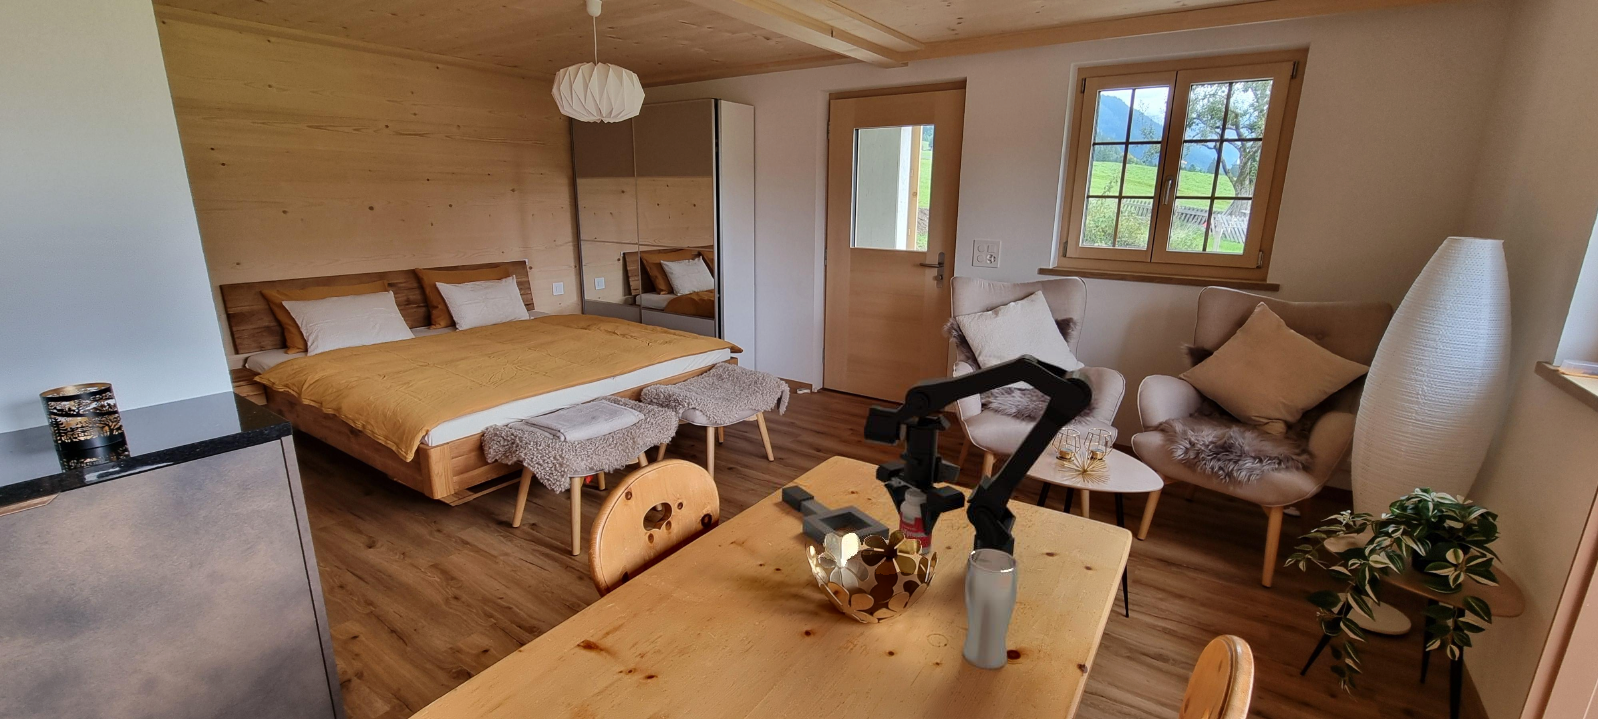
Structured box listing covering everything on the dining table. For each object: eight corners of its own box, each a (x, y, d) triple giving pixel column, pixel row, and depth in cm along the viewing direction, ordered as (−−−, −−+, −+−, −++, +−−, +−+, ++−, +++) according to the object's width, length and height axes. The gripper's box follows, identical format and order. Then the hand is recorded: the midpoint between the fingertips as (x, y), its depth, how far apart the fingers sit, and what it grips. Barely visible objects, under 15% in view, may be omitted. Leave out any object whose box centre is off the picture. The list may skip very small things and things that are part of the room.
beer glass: (972, 635, 103) (980, 542, 100) (1017, 654, 99) (1027, 558, 96) (951, 657, 98) (958, 560, 95) (997, 678, 94) (1007, 577, 91)
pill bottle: (894, 551, 128) (898, 496, 126) (901, 537, 134) (904, 484, 132) (928, 558, 126) (932, 501, 124) (933, 543, 132) (937, 489, 130)
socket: (888, 542, 132) (889, 528, 131) (837, 557, 126) (837, 542, 125) (812, 493, 154) (812, 480, 154) (765, 503, 148) (765, 490, 148)
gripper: (990, 457, 123) (983, 538, 126) (919, 429, 138) (915, 501, 141) (944, 468, 117) (938, 552, 120) (875, 437, 132) (872, 512, 136)
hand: (915, 528), depth 129 cm, fingers closed on pill bottle, 6 cm apart
